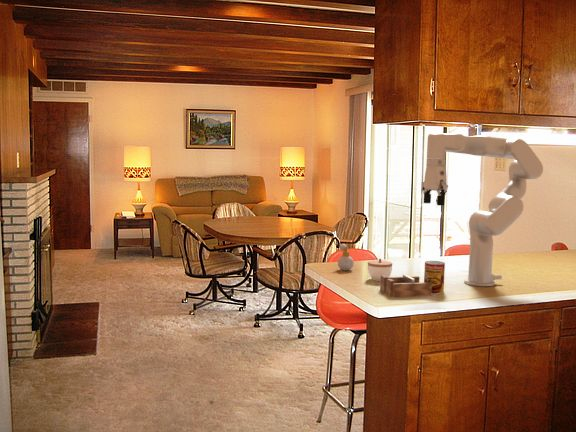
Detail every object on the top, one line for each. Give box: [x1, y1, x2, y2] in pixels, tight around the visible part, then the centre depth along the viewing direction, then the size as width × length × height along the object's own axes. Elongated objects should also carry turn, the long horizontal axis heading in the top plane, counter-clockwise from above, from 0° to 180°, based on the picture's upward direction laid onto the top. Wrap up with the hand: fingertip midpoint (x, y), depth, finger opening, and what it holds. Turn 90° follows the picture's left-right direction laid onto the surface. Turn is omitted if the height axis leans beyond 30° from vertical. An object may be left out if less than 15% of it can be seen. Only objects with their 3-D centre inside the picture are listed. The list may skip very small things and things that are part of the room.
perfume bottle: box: [337, 243, 355, 271], centre depth 292 cm, size 8×10×12 cm
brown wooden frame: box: [379, 275, 433, 298], centre depth 247 cm, size 17×14×6 cm
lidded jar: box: [367, 258, 393, 282], centre depth 271 cm, size 11×11×9 cm
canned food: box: [423, 260, 446, 295], centre depth 249 cm, size 8×8×12 cm
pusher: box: [402, 274, 415, 283], centre depth 246 cm, size 10×9×6 cm
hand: (433, 204), depth 257 cm, fingers open, 9 cm apart
